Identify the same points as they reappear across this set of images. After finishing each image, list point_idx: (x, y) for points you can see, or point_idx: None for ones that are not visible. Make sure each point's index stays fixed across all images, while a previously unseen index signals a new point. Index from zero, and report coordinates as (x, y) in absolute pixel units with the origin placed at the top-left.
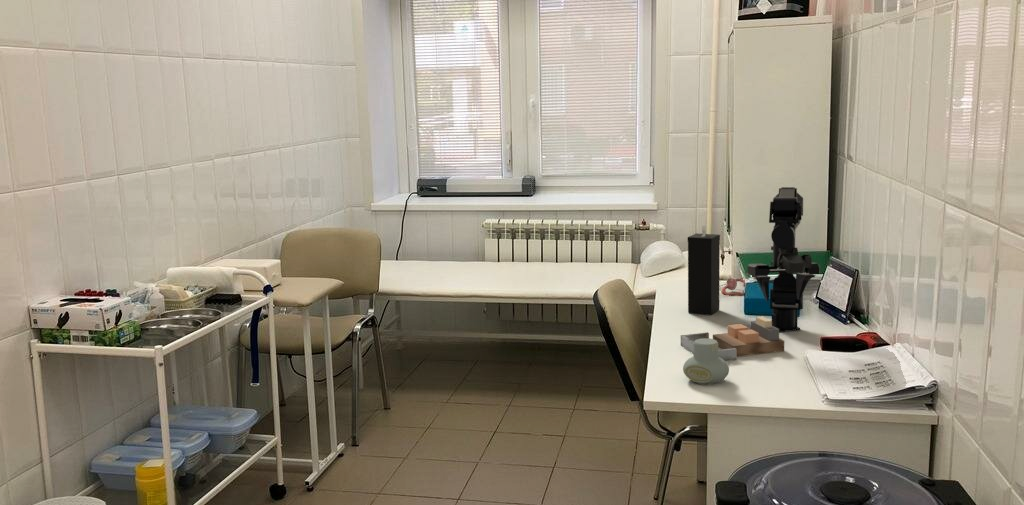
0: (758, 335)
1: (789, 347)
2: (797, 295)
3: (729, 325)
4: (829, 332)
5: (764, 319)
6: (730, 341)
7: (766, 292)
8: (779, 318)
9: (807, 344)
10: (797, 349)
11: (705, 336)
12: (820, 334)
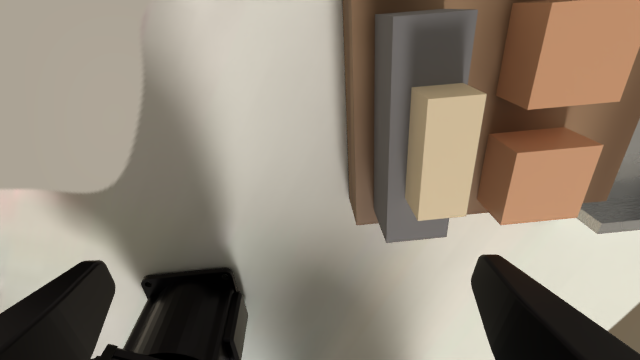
0: (543, 2)
1: (284, 55)
2: (91, 322)
3: (571, 213)
4: (23, 228)
5: (456, 145)
6: (633, 66)
7: (602, 335)
8: (221, 323)
9: (175, 81)
10: (258, 7)
11: (606, 214)
12: (71, 211)
